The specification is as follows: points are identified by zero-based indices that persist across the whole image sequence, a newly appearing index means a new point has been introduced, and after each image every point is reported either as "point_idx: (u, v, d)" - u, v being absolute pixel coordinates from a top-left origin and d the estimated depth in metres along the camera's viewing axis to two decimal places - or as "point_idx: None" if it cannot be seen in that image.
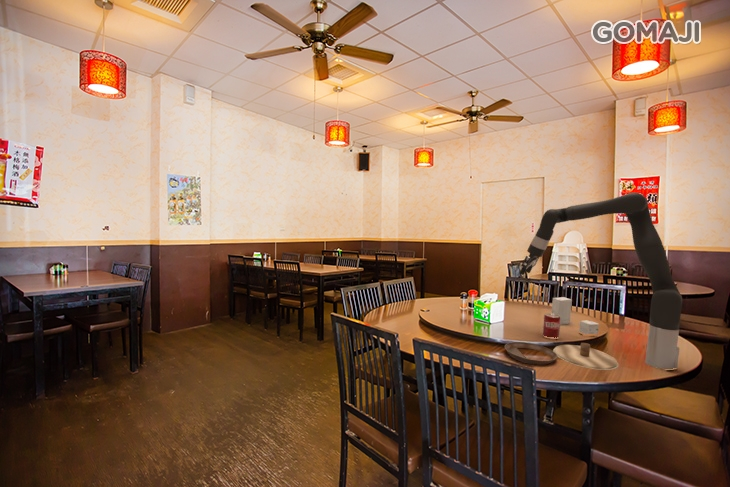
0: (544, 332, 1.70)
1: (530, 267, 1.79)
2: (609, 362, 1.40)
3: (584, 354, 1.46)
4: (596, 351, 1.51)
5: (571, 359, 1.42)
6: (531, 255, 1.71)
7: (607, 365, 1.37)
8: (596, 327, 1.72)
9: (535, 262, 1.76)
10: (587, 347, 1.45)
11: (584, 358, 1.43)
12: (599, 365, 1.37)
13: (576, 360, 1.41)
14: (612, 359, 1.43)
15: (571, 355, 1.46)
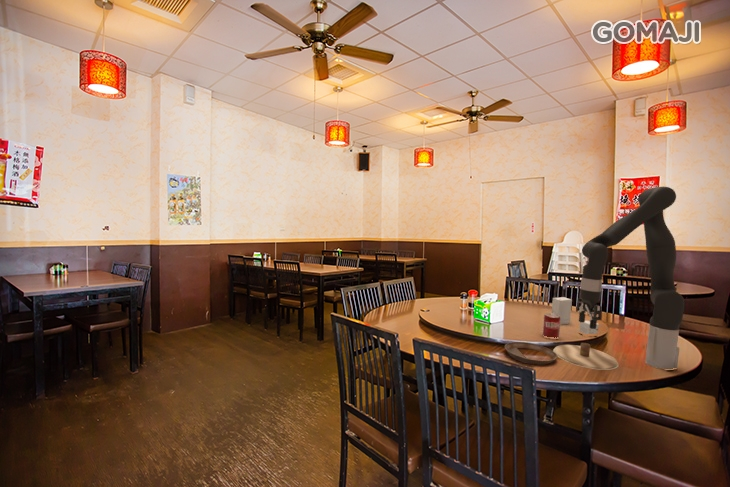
0: (544, 332, 1.70)
1: (583, 315, 1.49)
2: (609, 362, 1.40)
3: (584, 354, 1.46)
4: (596, 351, 1.51)
5: (571, 359, 1.42)
6: (594, 302, 1.41)
7: (607, 365, 1.37)
8: (596, 327, 1.72)
9: None
10: (587, 347, 1.45)
11: (584, 358, 1.43)
12: (599, 365, 1.37)
13: (576, 360, 1.41)
14: (612, 359, 1.43)
15: (571, 355, 1.46)
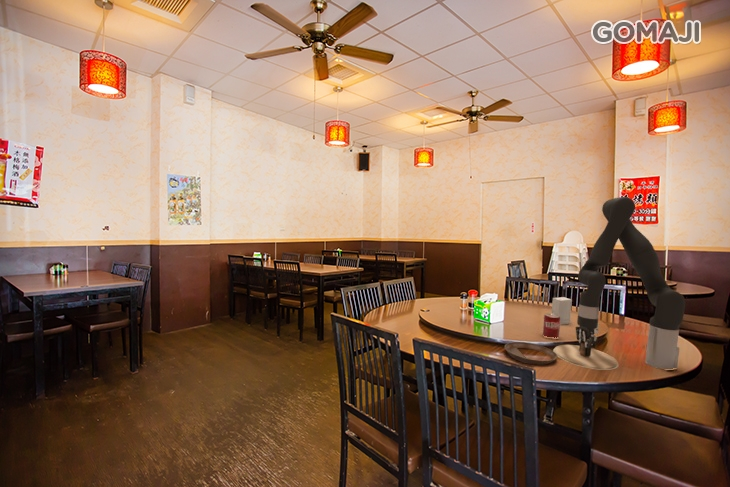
0: (544, 332, 1.70)
1: None
2: (609, 362, 1.40)
3: None
4: (596, 351, 1.51)
5: (571, 359, 1.42)
6: (592, 330, 1.42)
7: (607, 365, 1.37)
8: None
9: None
10: None
11: (584, 358, 1.43)
12: (599, 365, 1.37)
13: (576, 360, 1.41)
14: (612, 359, 1.43)
15: (571, 355, 1.46)
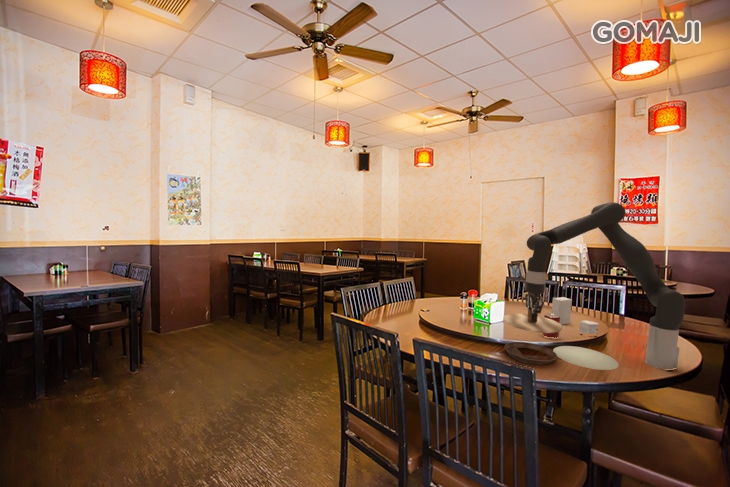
0: None
1: None
2: (554, 327, 1.39)
3: None
4: (545, 319, 1.50)
5: (516, 324, 1.41)
6: (538, 295, 1.41)
7: (551, 330, 1.36)
8: (596, 327, 1.72)
9: None
10: None
11: (530, 324, 1.42)
12: (543, 329, 1.36)
13: (521, 325, 1.40)
14: (558, 325, 1.42)
15: (518, 321, 1.45)
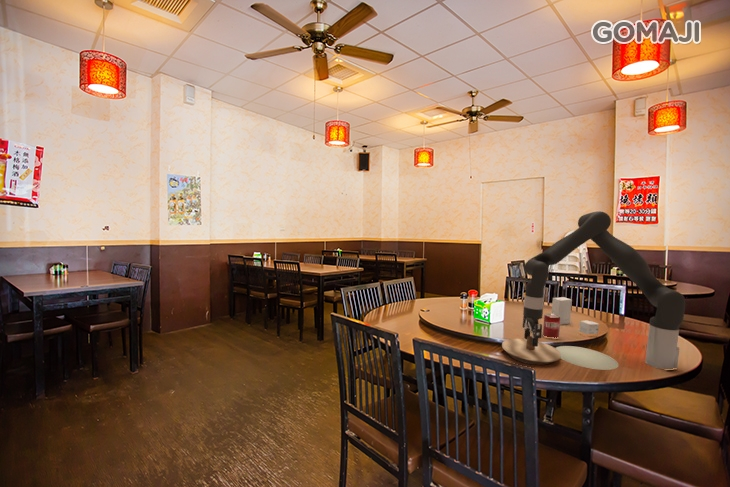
0: (544, 332, 1.70)
1: (528, 332, 1.50)
2: (552, 355, 1.40)
3: (529, 347, 1.45)
4: (543, 344, 1.51)
5: (515, 352, 1.42)
6: (536, 320, 1.42)
7: (550, 358, 1.37)
8: (595, 327, 1.72)
9: None
10: None
11: (528, 351, 1.43)
12: (541, 358, 1.37)
13: (520, 354, 1.41)
14: (556, 352, 1.43)
15: (517, 348, 1.46)
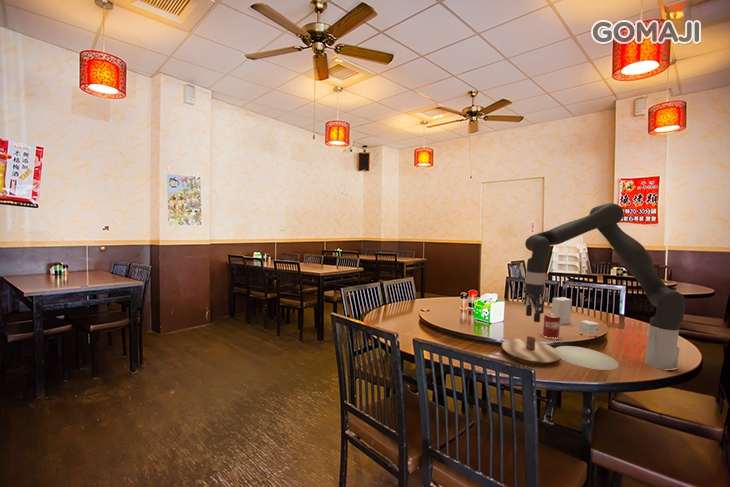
0: (544, 332, 1.70)
1: (530, 308, 1.49)
2: (552, 355, 1.40)
3: (529, 348, 1.45)
4: (543, 345, 1.51)
5: (515, 353, 1.42)
6: (538, 296, 1.41)
7: (550, 359, 1.37)
8: (595, 327, 1.72)
9: None
10: (532, 340, 1.45)
11: (528, 352, 1.43)
12: (541, 358, 1.37)
13: (520, 354, 1.41)
14: (556, 352, 1.43)
15: (517, 349, 1.46)
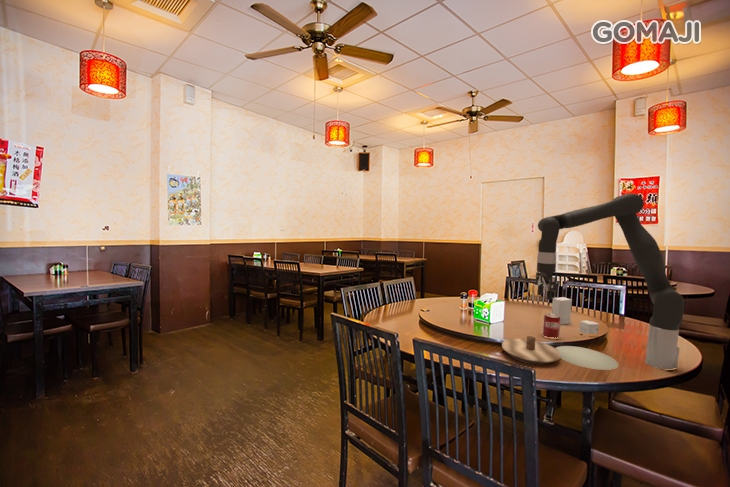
0: (544, 332, 1.70)
1: (541, 288, 1.56)
2: (552, 355, 1.40)
3: (529, 347, 1.45)
4: (543, 345, 1.51)
5: (515, 352, 1.42)
6: (550, 274, 1.48)
7: (550, 358, 1.37)
8: (596, 327, 1.72)
9: None
10: (532, 340, 1.45)
11: (528, 351, 1.43)
12: (541, 358, 1.37)
13: (520, 354, 1.41)
14: (556, 352, 1.43)
15: (517, 349, 1.46)
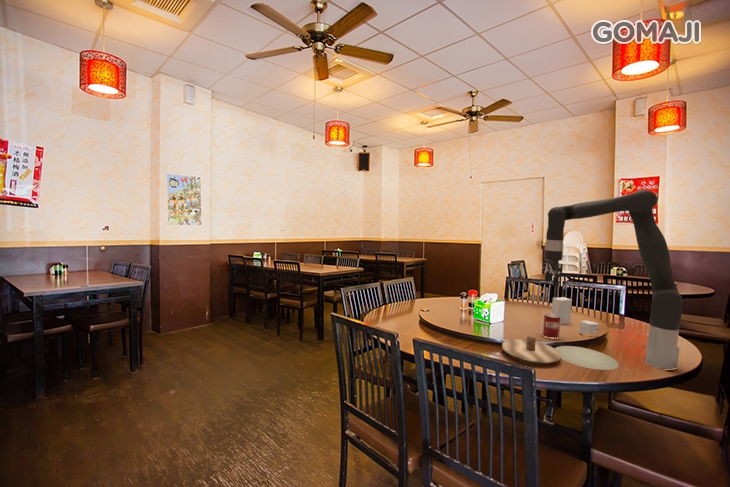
0: (544, 332, 1.70)
1: (548, 275, 1.63)
2: (552, 356, 1.40)
3: (530, 348, 1.45)
4: (544, 345, 1.51)
5: (515, 353, 1.42)
6: (557, 261, 1.54)
7: (550, 359, 1.37)
8: (596, 327, 1.72)
9: None
10: (532, 341, 1.45)
11: (528, 352, 1.43)
12: (541, 359, 1.37)
13: (520, 354, 1.41)
14: (557, 353, 1.43)
15: (517, 349, 1.46)
